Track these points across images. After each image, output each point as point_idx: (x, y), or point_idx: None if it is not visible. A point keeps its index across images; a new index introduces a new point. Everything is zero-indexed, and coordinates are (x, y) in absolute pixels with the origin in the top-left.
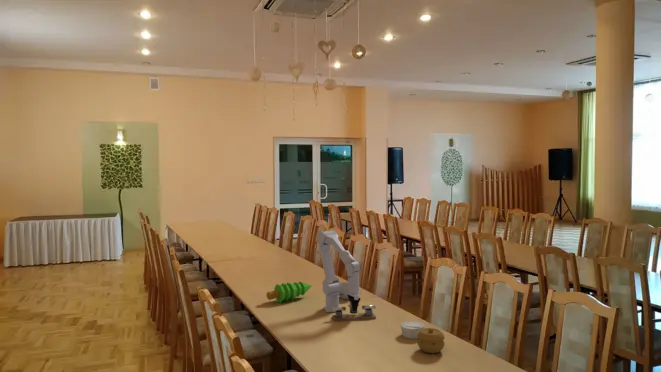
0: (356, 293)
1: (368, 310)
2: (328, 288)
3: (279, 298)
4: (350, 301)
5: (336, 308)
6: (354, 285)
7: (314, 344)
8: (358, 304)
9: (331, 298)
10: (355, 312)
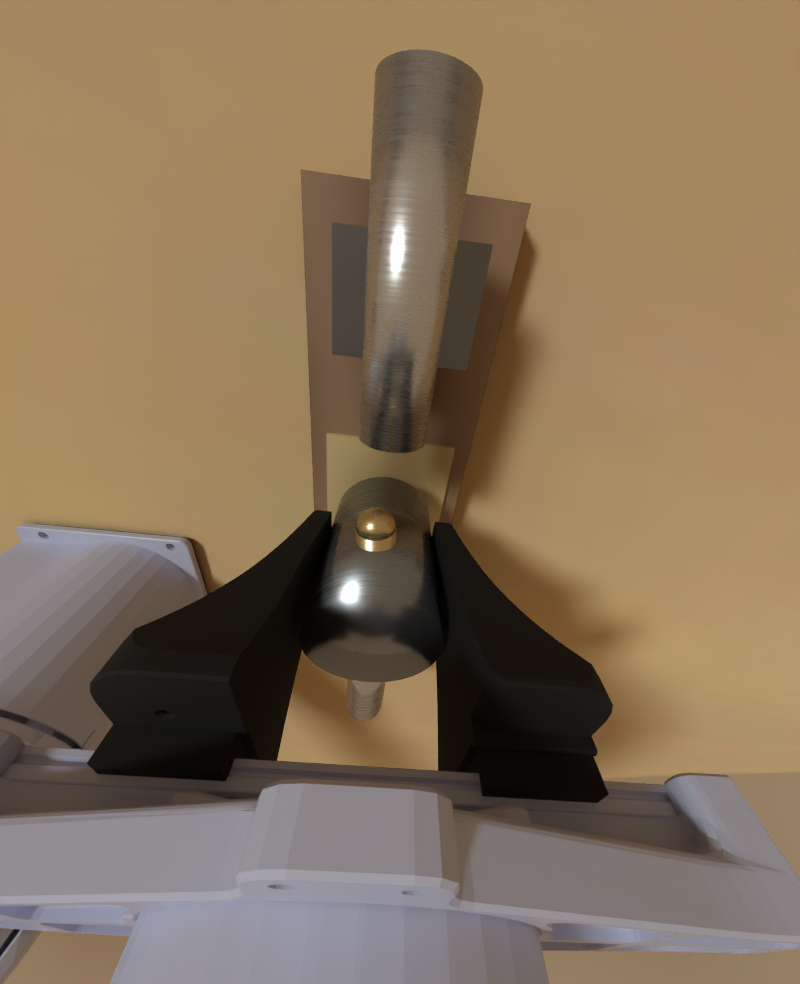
0: (539, 945)
1: (473, 335)
2: (22, 955)
3: None
4: (373, 676)
5: (380, 694)
6: None
7: (692, 733)
8: (391, 530)
9: (110, 723)
10: (428, 516)
